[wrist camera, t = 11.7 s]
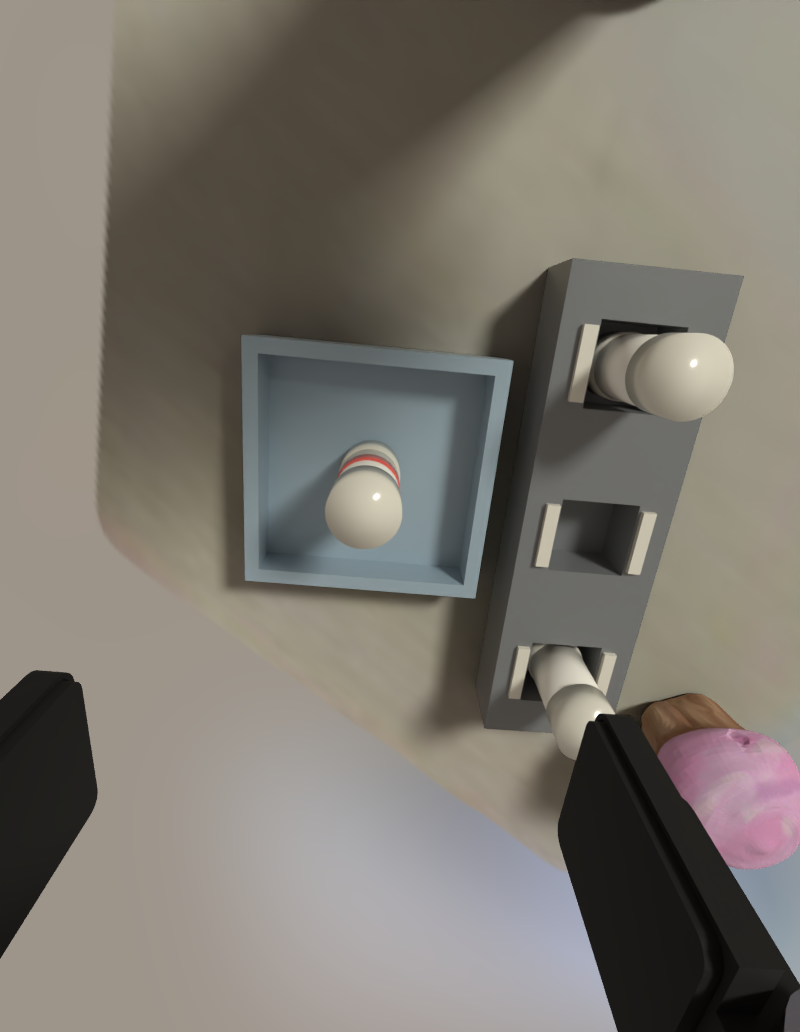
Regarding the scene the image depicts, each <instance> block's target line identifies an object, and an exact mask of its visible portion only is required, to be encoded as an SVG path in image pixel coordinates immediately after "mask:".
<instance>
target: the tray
mask: <svg viewBox="0 0 800 1032" xmlns="http://www.w3.org/2000/svg"><path fill="white" fill-rule="evenodd" d="M241 358H242V421H243V485H244V548H245V581H257V582H270V583H283V584H296V585H309V586H321V587H334V588H347V589H360V590H373V591H385V592H398V593H411V594H424V595H437V596H449V597H462V598H475V597H476V591H477V584H478V578H479V572H480V566H481V560H482V554H483V547H484V541H485V535H486V529H487V523H488V517H489V510H490V504H491V498H492V492H493V486H494V479H495V473H496V467H497V461H498V455H499V449H500V442H501V436H502V430H503V424H504V418H505V412H506V405H507V399H508V393H509V387H510V381H511V375H512V368H513V362H514V361H512V360H509V359H505V358H500V357H490V356H480V355H469V354H459V353H448V352H438V351H428V350H417V349H407V348H396V347H386V346H376V345H365V344H355V343H344V342H334V341H324V340H313V339H303V338H292V337H282V336H272V335H261V334H248V335H241ZM365 440H375V441H379V442H382V443H384V444H386V445H388V446H389V447H390V448H391V449H392V450H393V451H394V452H395V454H396V456H397V458H398V460H399V465H400V492H401V498H402V521H401V524H400V527H399V529H398V531H397V533H396V534H395V535H394V537H393V538H392V539H391V540H389V541H388V542H387V543H385V544H383V545H382V546H379V547H376V548H372V549H356V548H352V547H349V546H347V545H345V544H343V543H342V542H340V541H339V540H338V539H337V538H336V537H335V536H334V535H333V534H332V533H331V531H330V529H329V527H328V525H327V522H326V518H325V506H326V502H327V499H328V497H329V494H330V492H331V489H332V487H333V484H334V483H335V481H336V479H337V477H338V474H339V469H340V466H341V464H342V461H343V459H344V456H345V454H346V453H347V451H348V450H349V449H350V448H351V447H352V446H353V445H355V444H357V443H359V442H361V441H365Z"/></svg>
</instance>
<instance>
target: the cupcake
mask: <svg viewBox="0 0 800 1032" xmlns="http://www.w3.org/2000/svg"><path fill="white" fill-rule="evenodd" d="M641 722H642V728H641V730H642V732H643V733H644V735H645V737H646V738H647V740H648V742H649V743H650V745H651V747H652V748H653V750H654V752H655V753H656V755H657V757H658V758H659V760H660V762H661V763H662V765H663V767H664V768H665V770H666V772H667V773H668V775H669V777H670V778H671V780H672V782H673V783H674V785H675V787H676V788H677V790H678V792H679V793H680V795H681V797H682V798H683V799H684V800H686V801H687V802H688V803H689V805H690V806H691V807H692V809H693V810H694V811H695V813H696V815H697V816H698V818H699V820H700V821H701V823H702V825H703V826H704V828H705V829H706V831H707V833H708V834H709V836H710V838H711V839H712V841H713V843H714V844H715V846H716V848H717V849H718V851H719V853H720V854H721V856H722V857H723V859H724V861H725V862H726V864H727V866H730V867H734V868H738V869H760V868H765V867H768V866H772V865H775V864H777V863H779V862H781V861H783V860H785V859H787V858H788V857H789V856H790V855H792V853H794V852H795V850H796V849H797V847H798V846H799V843H800V774H799V771H798V769H797V767H796V765H795V763H794V762H793V760H792V759H791V757H790V755H789V754H788V752H787V751H786V750H785V749H784V748H783V747H782V746H781V745H780V744H779V743H777V742H776V741H774V740H772V739H771V738H769V737H767V736H764V735H762V734H760V733H756V732H753V731H749V730H745V729H744V728H742V727H741V726H740V725H739V724H737V723H736V722H735V721H734V720H733V719H732V718H731V717H730V716H729V715H728V714H727V713H726V712H725V711H724V710H723V709H722V708H721V707H720V706H719V705H718V704H717V703H715V702H714V701H713V700H711V699H710V698H708V697H706V696H704V695H702V694H693V693H691V694H686V695H682V696H679V697H676V698H671V699H667V700H664V701H658V702H654V703H652V704H651V705H650V706H649V707H648V708H647V709H646V710H645V711H644V713H643V714H642V716H641Z"/></svg>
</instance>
